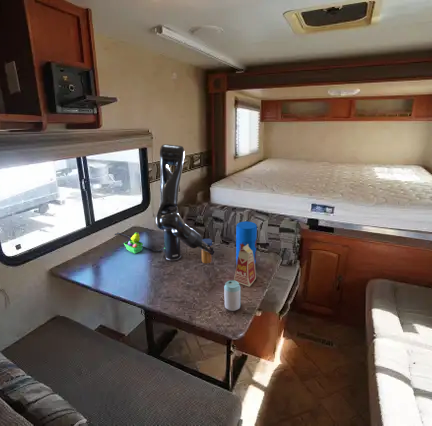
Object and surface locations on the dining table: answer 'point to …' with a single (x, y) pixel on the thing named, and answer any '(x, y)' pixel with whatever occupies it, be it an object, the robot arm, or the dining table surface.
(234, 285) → the can
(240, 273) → the milk carton
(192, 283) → the dining table surface
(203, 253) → the jar
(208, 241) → the jar lid
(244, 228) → the thermos
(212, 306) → the dining table surface
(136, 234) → the fruit basket
